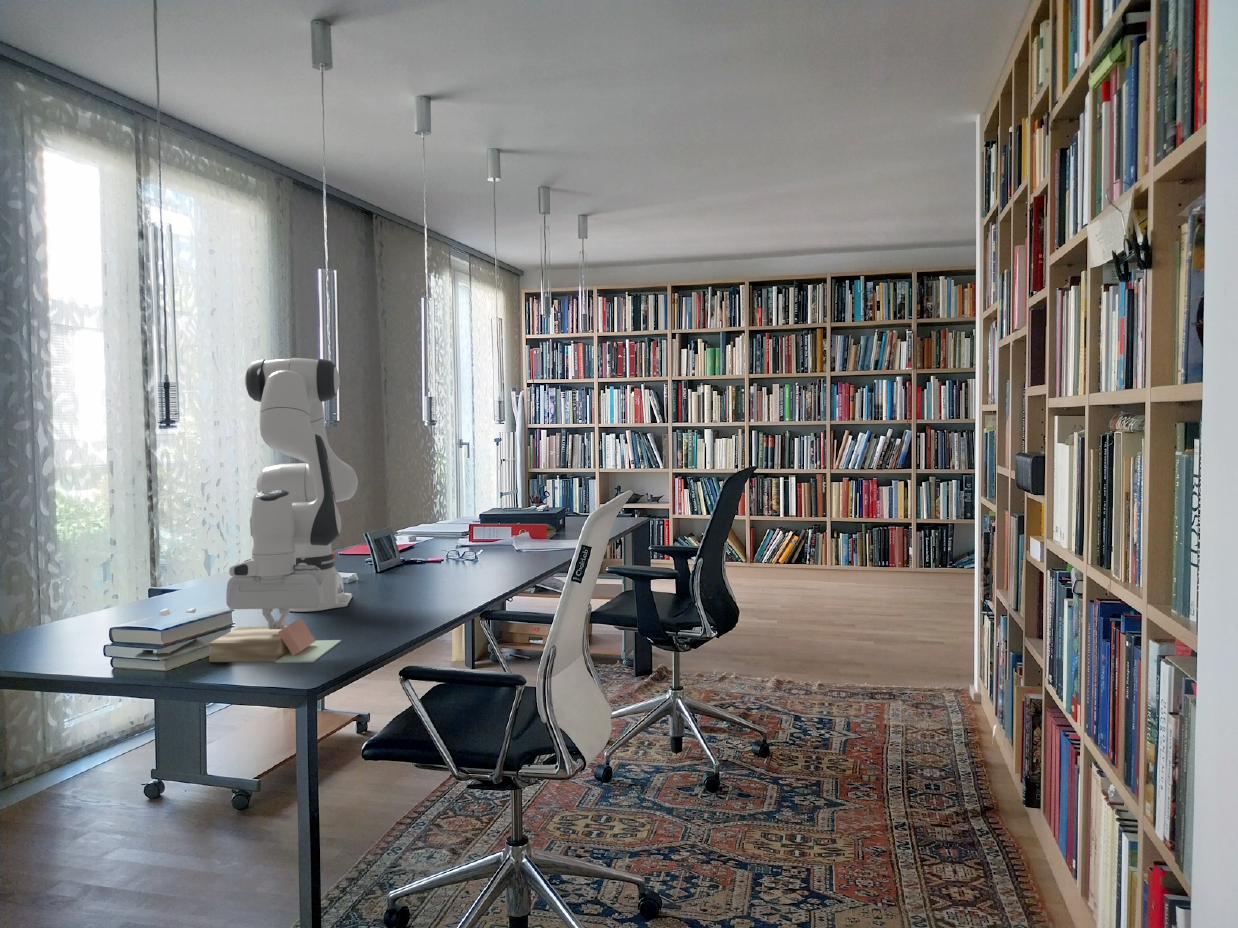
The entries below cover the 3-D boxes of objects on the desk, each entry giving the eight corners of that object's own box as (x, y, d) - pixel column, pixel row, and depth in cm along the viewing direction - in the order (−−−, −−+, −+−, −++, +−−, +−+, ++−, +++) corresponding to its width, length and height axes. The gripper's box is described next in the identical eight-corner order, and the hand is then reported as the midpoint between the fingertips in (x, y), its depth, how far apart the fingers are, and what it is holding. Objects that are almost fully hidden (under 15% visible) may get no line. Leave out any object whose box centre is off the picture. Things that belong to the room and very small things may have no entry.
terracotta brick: (293, 622, 201) (301, 617, 200) (308, 645, 201) (315, 640, 201) (277, 632, 192) (285, 627, 191) (293, 655, 192) (300, 651, 192)
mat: (306, 641, 205) (306, 640, 205) (341, 641, 205) (341, 639, 205) (275, 662, 187) (275, 661, 187) (313, 662, 187) (313, 661, 187)
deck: (240, 644, 204) (239, 626, 204) (301, 643, 204) (301, 625, 204) (209, 662, 189) (208, 643, 189) (276, 661, 189) (275, 642, 189)
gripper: (327, 562, 198) (329, 624, 199) (234, 563, 199) (237, 626, 199) (317, 567, 192) (319, 631, 193) (221, 568, 192) (224, 632, 193)
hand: (276, 628), depth 196 cm, fingers closed
